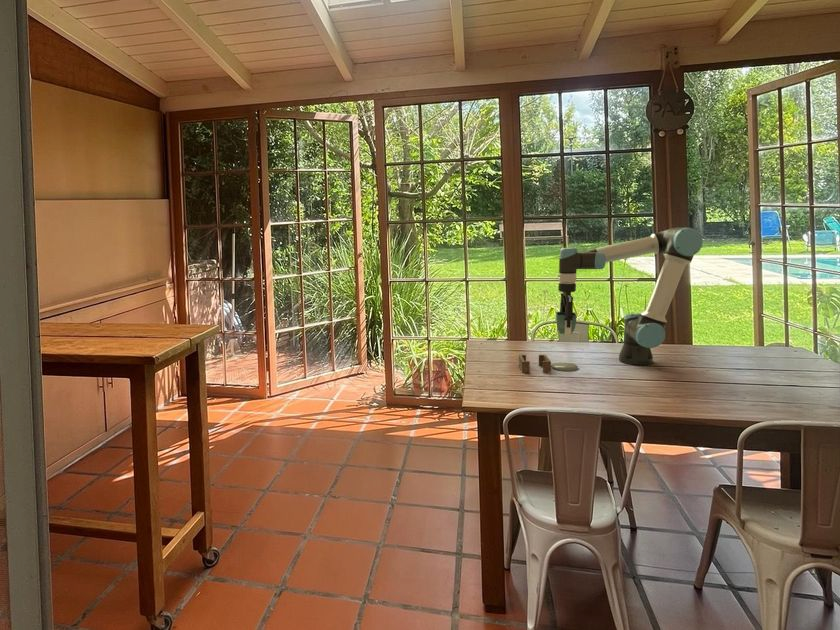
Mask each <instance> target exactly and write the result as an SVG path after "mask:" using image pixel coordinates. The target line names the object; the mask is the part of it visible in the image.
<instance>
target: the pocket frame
mask: <svg viewBox="0 0 840 630" xmlns="http://www.w3.org/2000/svg"><path fill="white" fill-rule="evenodd" d="M530 362H531V361H530V360H527V354H518V367H519V369H520V371H521V373H528V374H529V373H530V371H531V369H530V368H531V366H530V364H531V363H530ZM551 364H552V361H551V359H550V358H549V356H548V355H547V354H538V367H542V373H543V374H544V373H545V374H547V373H551V371H552V370H551V369H552V368H551Z"/></svg>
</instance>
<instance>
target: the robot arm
mask: <svg viewBox="0 0 840 630" xmlns="http://www.w3.org/2000/svg"><path fill="white" fill-rule="evenodd" d="M702 247H703V237H702V235H701V233H700V232H699V231H698V230H696V229H694V228H691V227H687V226H686V227H684V226H683V227H680V226H679V227H678V226H677V227H676V226H675V227H671V228H668V229H665V230H662V231H658V232H655V233H651V235H649V236H645V237H641V238H638V239H633V240H628V241H623V242H619V243H614V244H608V245H605V246H601V247H596V248H591V249H582V250H580V251H578V249H577V248H576V247H561V248H560V250H559V257H558V275H557V278H558V282H559V283H558V286H557V287H558V288H557V289H558V292H560V302H559V303H560V304H559V305H560V306H559V312H565V315H566V319H564V320H565V334H564V335H567V336H568V335H572V334H571V323H572V320H573V312H574V305H573V303H574V302H573V301H574V296H573V295H572V293H575V292H576V291H577V290H576V289H577V283H576V282H577V272H578V271H577V270H596V271H597V270H603V269H604V268H605V266H606V263H609V262H615V261H620V260H624V259H629V258H635V257H639V256H644V255H650V254H655V255H659V254H662V255H663V257H664V261H663V264H662V266H661V269H660V271H659V274H658V277H657V279H656V281H655V284H654V287H653V290H652V292H651V295H650V297H649V299H648V302H647V304H646V307H645V310H643V311H641V312H639V313H638V312H637V313H636V312H634V313H632V312H631V313H626V314H625V315H624V316H625V317H624V328H623V345H622V346H621V347H622V348H621V350H620V351H619V354H618V361H619V362H621V363H623V364H627V365H628V364H629V365H638V366H647V364H648V365H651V363H652V364H653V363H654V355H653V352H652V349H654V348H657V347H658V346H660V345H661V344H662V343H664V341H665V339H666V331H665V328H666V326H667V323H668V321H667V319H666V315H667V313H668V310H669V308H670V305H671V303H672V301H673V298H674V296H675V293H676V291H677V288H678V285H679V282H680V281H681V278H682V275H683V273H684V271H685V269H686V266H687V265H689V264H691V263H692V261H693V259H694V256H695V255H697V254H698V253H699V252H700V250H701V249H702Z"/></svg>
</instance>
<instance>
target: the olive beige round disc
mask: <svg viewBox="0 0 840 630" xmlns="http://www.w3.org/2000/svg"><path fill="white" fill-rule="evenodd" d="M578 366H579V365H577V364H575V363H571V362H554V363H551V369H552V370H554V371H560V372H575V371H577V370H579V367H578Z"/></svg>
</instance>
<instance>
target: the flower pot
mask: <svg viewBox="0 0 840 630" xmlns="http://www.w3.org/2000/svg"><path fill="white" fill-rule="evenodd" d="M577 318H578V316H577V313H576V312H574V311H573V320H572V323H571V335H572V334H573V332H574V331H575V329H576V324H577ZM564 319H566V315H565V312H560V311H555V321H556V328H557V330H558V333H559V334H561V335H565V320H564Z"/></svg>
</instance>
